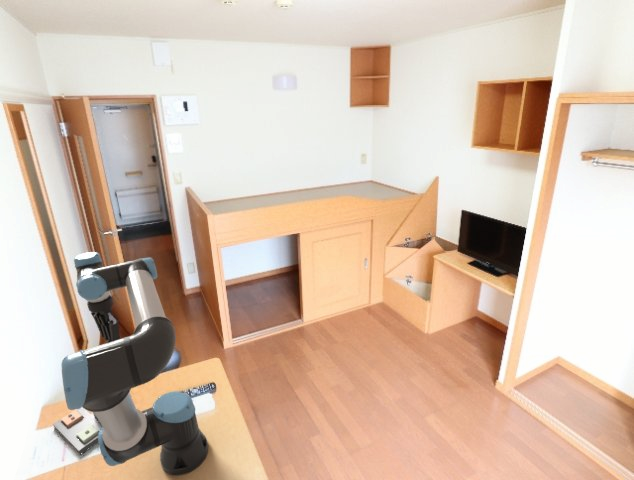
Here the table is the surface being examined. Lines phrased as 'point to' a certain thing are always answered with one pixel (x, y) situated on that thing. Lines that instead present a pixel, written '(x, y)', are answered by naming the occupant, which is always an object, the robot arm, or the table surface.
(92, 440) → the board
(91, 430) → the pale green button
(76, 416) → the peach rectangular block
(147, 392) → the table surface
